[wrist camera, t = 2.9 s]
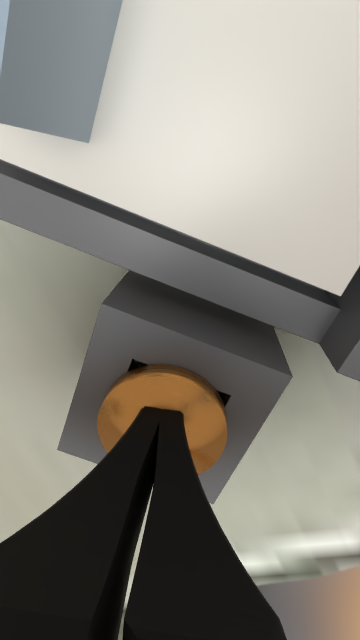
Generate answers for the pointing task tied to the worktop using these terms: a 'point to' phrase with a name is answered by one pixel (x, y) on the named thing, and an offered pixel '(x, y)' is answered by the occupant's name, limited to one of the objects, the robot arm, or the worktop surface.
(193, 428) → the orange round piece
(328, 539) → the worktop surface
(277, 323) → the housing
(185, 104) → the white blue stepped block
